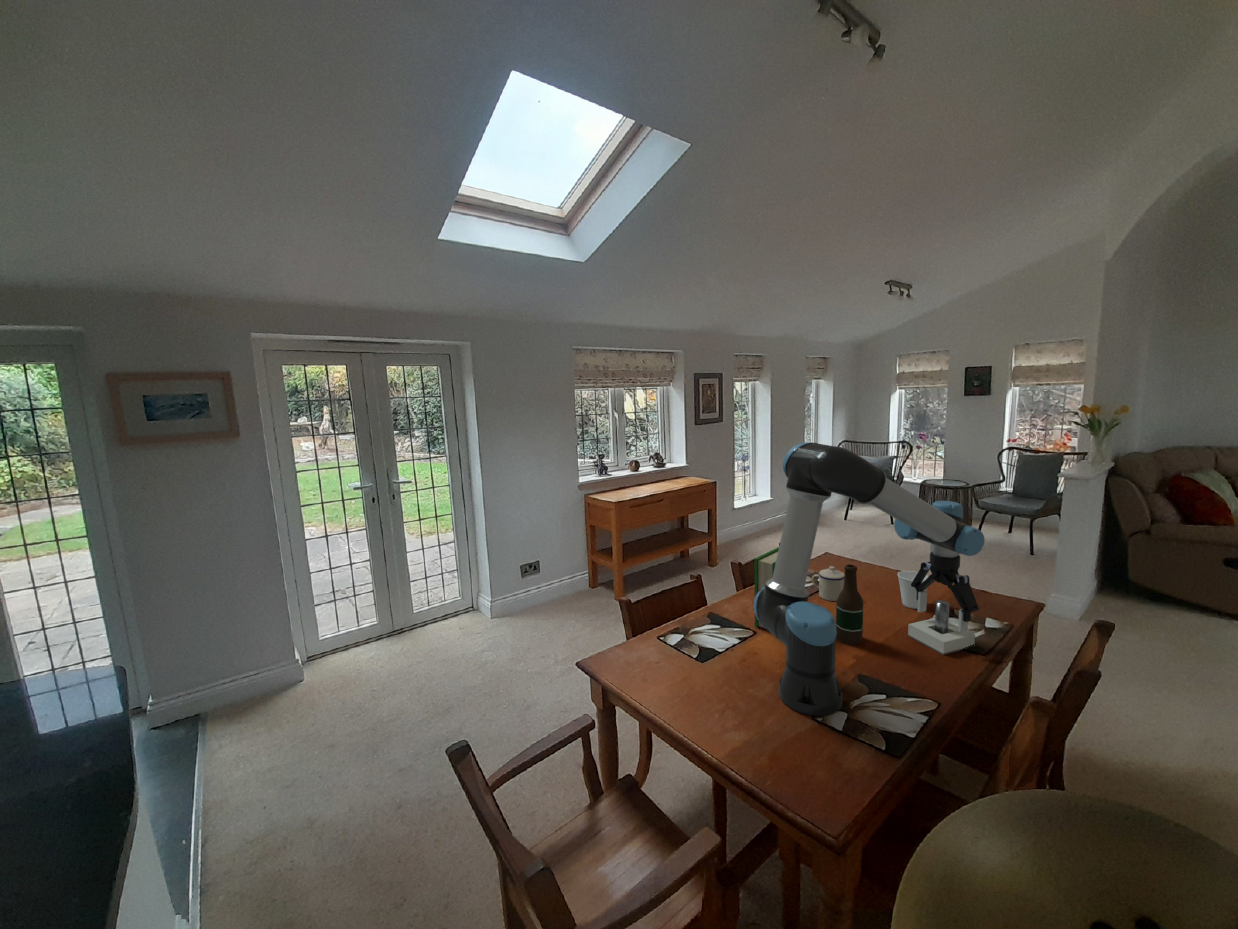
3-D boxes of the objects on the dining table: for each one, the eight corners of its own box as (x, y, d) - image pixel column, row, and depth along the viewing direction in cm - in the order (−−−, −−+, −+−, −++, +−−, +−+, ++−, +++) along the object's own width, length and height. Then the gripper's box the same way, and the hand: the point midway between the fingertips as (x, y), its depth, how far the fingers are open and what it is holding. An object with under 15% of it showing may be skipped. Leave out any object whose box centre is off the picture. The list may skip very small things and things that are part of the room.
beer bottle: (866, 646, 149) (868, 570, 145) (838, 644, 150) (840, 570, 147) (858, 633, 156) (861, 561, 153) (832, 632, 158) (834, 561, 154)
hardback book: (775, 634, 158) (775, 563, 155) (754, 627, 164) (754, 558, 160) (801, 616, 170) (802, 549, 166) (781, 610, 175) (782, 545, 172)
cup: (928, 602, 176) (930, 573, 174) (928, 613, 167) (930, 583, 166) (897, 597, 181) (898, 569, 179) (895, 608, 173) (896, 578, 171)
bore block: (943, 655, 142) (943, 642, 142) (908, 636, 154) (908, 624, 153) (974, 647, 146) (975, 634, 145) (937, 629, 157) (938, 617, 156)
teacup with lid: (848, 596, 184) (849, 566, 182) (838, 604, 178) (839, 573, 176) (817, 587, 193) (817, 559, 191) (806, 595, 187) (806, 565, 185)
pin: (941, 643, 148) (943, 605, 146) (931, 638, 151) (933, 601, 149) (950, 641, 148) (952, 603, 147) (939, 636, 152) (942, 599, 150)
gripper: (997, 565, 135) (992, 637, 138) (918, 540, 158) (915, 602, 162) (976, 569, 133) (972, 642, 136) (900, 543, 156) (897, 606, 159)
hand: (941, 620), depth 149 cm, fingers open, 13 cm apart
